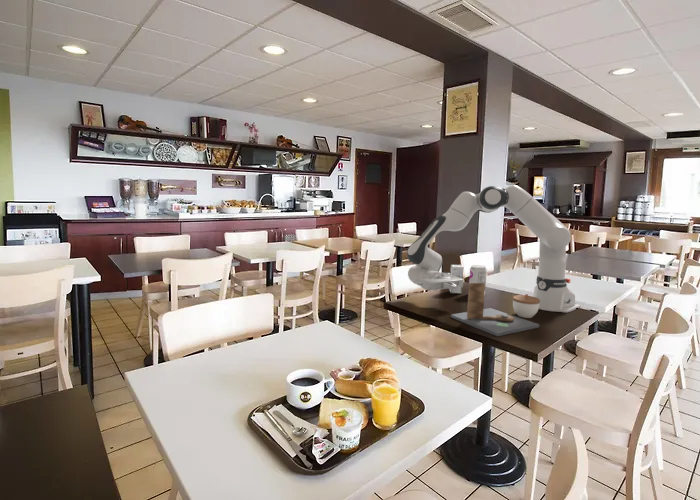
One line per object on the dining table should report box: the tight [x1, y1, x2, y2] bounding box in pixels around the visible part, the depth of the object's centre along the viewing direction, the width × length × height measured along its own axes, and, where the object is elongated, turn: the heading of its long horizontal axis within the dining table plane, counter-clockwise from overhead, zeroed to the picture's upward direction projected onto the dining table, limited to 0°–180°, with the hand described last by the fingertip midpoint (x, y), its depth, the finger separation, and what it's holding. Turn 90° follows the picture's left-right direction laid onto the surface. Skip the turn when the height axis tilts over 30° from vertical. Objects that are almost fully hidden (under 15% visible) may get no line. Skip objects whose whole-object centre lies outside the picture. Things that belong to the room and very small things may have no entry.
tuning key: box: [466, 282, 514, 322], centre depth 165 cm, size 18×7×14 cm, turn 88°
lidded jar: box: [512, 293, 540, 319], centre depth 175 cm, size 11×11×9 cm
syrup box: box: [449, 264, 464, 295], centre depth 214 cm, size 6×6×14 cm
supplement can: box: [468, 264, 488, 296], centre depth 209 cm, size 8×8×15 cm
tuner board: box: [450, 307, 540, 337], centre depth 166 cm, size 23×25×3 cm
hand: (454, 287), depth 175 cm, fingers closed
